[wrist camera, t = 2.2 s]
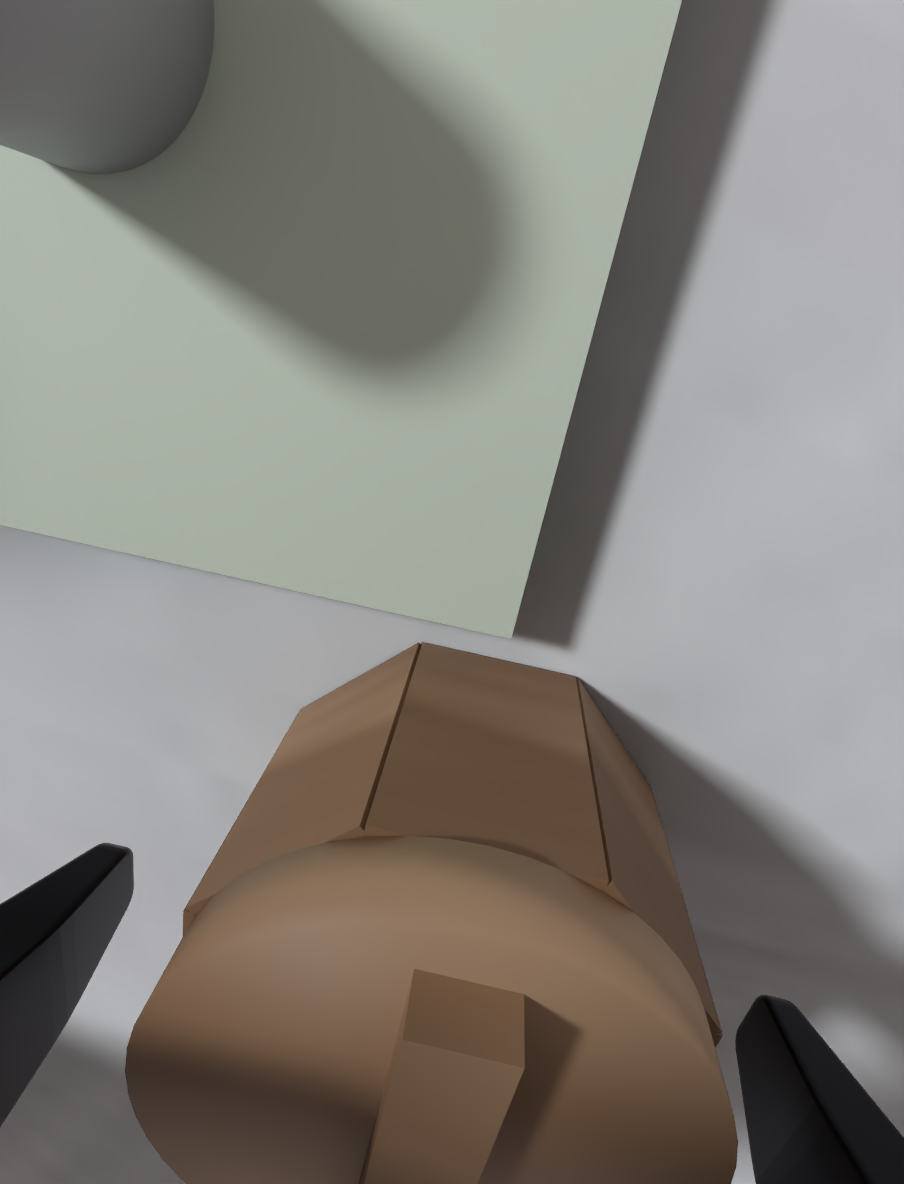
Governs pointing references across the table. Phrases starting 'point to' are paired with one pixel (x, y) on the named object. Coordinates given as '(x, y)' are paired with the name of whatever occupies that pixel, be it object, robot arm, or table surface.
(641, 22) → the pale green flat slab
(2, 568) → the table surface
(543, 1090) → the cap
